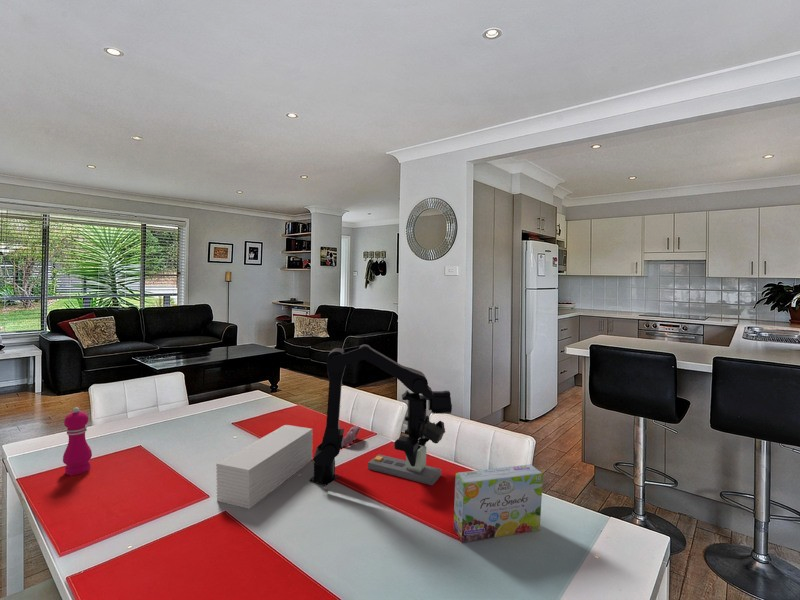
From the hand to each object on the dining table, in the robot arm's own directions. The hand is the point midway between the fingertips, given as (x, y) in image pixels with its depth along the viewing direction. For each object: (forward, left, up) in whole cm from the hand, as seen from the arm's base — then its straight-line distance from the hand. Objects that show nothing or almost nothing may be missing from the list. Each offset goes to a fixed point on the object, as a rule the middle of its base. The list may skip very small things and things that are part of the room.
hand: (415, 463), depth 131 cm
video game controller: (+14, +33, -5) cm, 36 cm away
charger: (0, 0, -3) cm, 3 cm away
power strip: (0, +4, -5) cm, 6 cm away
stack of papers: (-21, +39, -5) cm, 45 cm away
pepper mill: (-46, +94, -5) cm, 105 cm away
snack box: (-15, -29, -5) cm, 33 cm away
